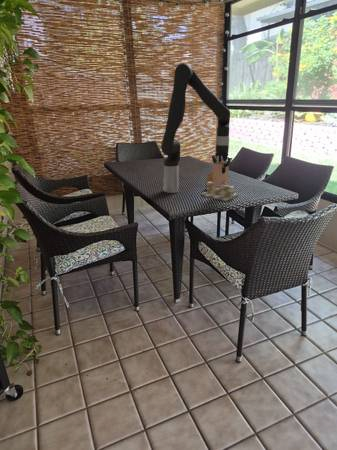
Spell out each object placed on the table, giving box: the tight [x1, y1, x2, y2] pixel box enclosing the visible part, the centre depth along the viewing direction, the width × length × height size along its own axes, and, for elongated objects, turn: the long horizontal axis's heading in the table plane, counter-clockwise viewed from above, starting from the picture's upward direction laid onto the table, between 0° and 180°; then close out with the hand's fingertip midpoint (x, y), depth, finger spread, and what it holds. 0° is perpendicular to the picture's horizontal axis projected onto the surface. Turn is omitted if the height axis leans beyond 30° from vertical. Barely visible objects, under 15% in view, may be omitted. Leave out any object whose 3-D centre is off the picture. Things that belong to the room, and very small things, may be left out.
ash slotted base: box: [201, 181, 239, 202], centre depth 192 cm, size 18×14×7 cm
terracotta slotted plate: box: [212, 161, 230, 188], centre depth 188 cm, size 3×12×14 cm, turn 137°
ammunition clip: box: [205, 170, 220, 190], centre depth 207 cm, size 11×2×12 cm, turn 120°
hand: (220, 172), depth 188 cm, fingers closed on terracotta slotted plate, 3 cm apart
